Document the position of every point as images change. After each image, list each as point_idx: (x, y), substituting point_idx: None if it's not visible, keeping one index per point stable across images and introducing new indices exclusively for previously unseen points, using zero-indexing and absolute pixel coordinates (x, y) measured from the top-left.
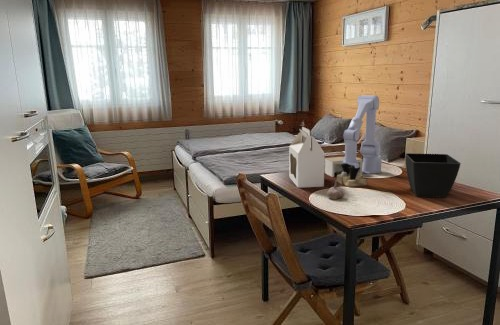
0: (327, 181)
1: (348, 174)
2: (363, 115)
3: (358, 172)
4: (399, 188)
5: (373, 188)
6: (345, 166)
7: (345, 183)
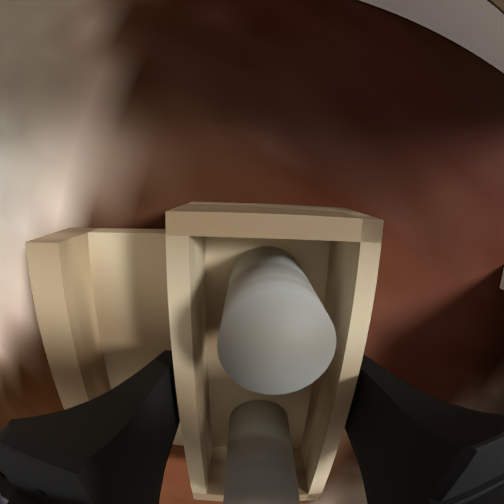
0: (389, 103)
1: (330, 413)
2: None
3: None
4: None
5: (22, 395)
6: (415, 476)
7: (125, 232)
